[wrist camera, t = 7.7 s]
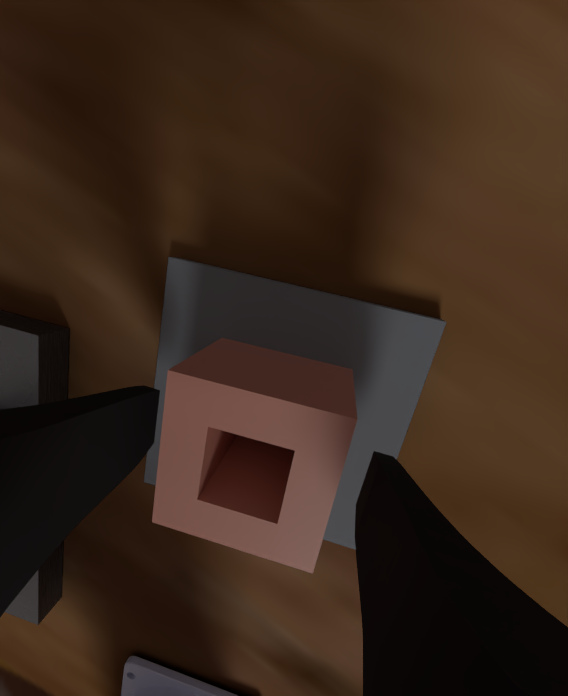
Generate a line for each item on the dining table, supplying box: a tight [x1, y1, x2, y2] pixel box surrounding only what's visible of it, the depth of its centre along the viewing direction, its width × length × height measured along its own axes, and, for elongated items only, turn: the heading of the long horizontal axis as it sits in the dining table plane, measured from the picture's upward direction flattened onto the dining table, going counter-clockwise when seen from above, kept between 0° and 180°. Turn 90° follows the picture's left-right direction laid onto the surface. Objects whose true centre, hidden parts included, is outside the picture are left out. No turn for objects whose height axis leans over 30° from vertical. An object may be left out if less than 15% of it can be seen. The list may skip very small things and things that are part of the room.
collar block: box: [152, 338, 357, 573], centre depth 11 cm, size 5×5×4 cm
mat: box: [144, 257, 446, 550], centre depth 13 cm, size 10×10×1 cm
